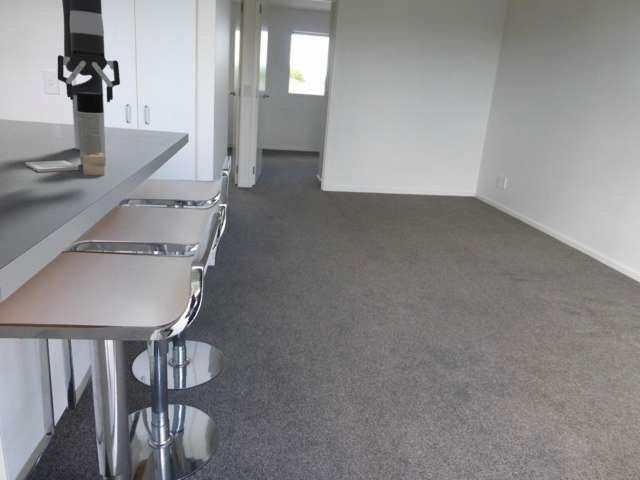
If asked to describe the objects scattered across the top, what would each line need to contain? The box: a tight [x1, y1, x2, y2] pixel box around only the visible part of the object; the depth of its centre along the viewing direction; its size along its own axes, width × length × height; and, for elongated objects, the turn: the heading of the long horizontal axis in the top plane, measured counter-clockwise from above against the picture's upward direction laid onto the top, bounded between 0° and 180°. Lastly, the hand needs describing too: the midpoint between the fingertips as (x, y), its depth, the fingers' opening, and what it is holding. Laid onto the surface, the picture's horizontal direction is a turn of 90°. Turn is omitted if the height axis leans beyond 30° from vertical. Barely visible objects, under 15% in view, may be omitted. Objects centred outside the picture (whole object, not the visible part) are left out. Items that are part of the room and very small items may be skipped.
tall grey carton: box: [77, 92, 107, 167], centre depth 140 cm, size 7×7×20 cm
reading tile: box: [25, 160, 80, 173], centre depth 135 cm, size 10×10×1 cm
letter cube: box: [82, 153, 106, 176], centre depth 133 cm, size 5×5×5 cm
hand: (90, 100), depth 128 cm, fingers open, 8 cm apart
